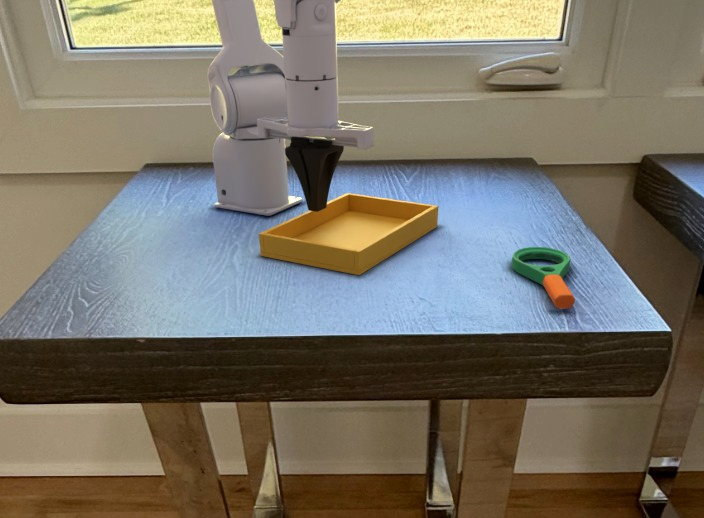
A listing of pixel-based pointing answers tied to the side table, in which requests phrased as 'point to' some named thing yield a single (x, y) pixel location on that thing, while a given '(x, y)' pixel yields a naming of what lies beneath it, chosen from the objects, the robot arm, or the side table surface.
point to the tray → (349, 233)
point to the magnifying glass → (546, 272)
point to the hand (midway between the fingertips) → (317, 209)
